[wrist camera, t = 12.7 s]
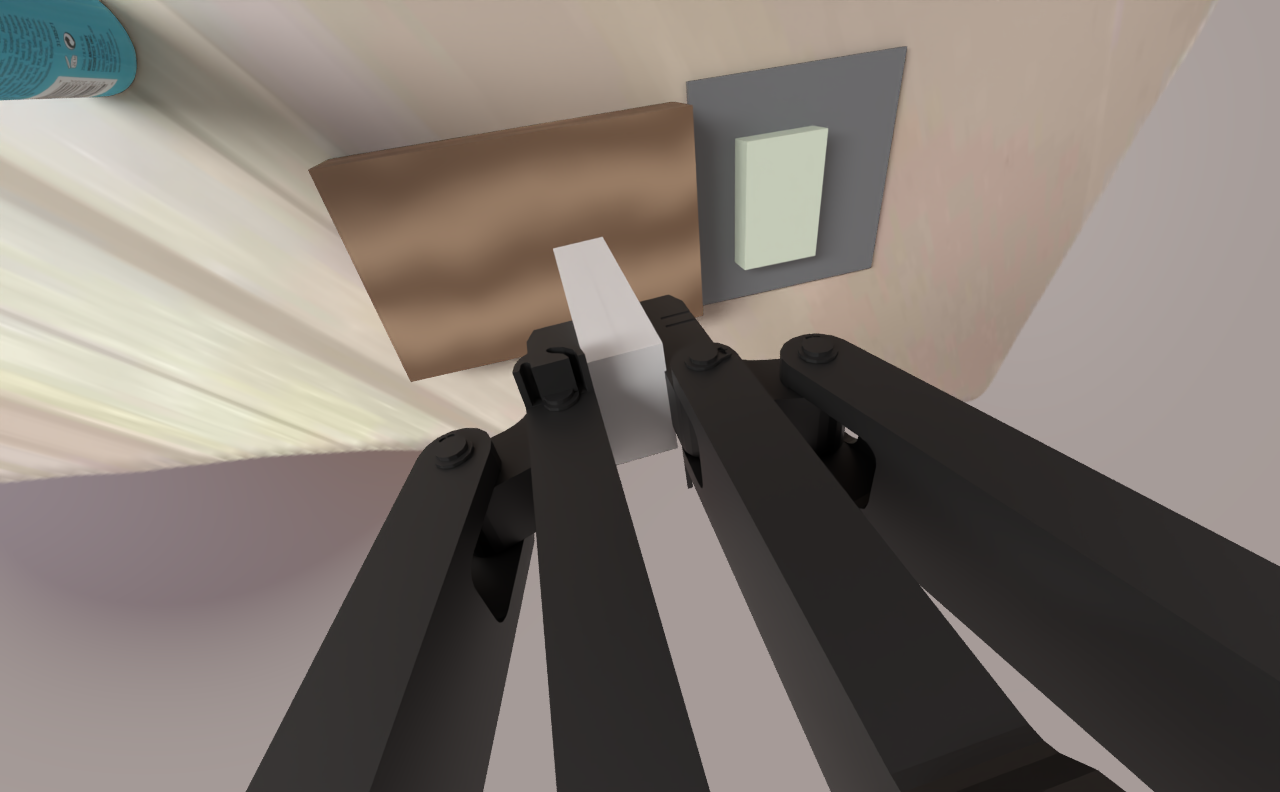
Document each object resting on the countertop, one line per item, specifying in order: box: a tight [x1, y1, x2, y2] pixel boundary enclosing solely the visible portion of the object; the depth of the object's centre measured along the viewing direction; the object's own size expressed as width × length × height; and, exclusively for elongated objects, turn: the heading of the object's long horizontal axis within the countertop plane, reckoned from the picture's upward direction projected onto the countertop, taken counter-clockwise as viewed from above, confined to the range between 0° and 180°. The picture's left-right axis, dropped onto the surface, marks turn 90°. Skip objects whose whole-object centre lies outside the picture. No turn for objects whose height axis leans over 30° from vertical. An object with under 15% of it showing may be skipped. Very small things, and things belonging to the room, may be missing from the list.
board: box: [308, 102, 703, 382], centre depth 33 cm, size 14×22×4 cm, turn 98°
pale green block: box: [735, 126, 828, 270], centre depth 36 cm, size 9×6×2 cm, turn 7°
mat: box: [686, 46, 907, 305], centre depth 37 cm, size 16×16×1 cm
